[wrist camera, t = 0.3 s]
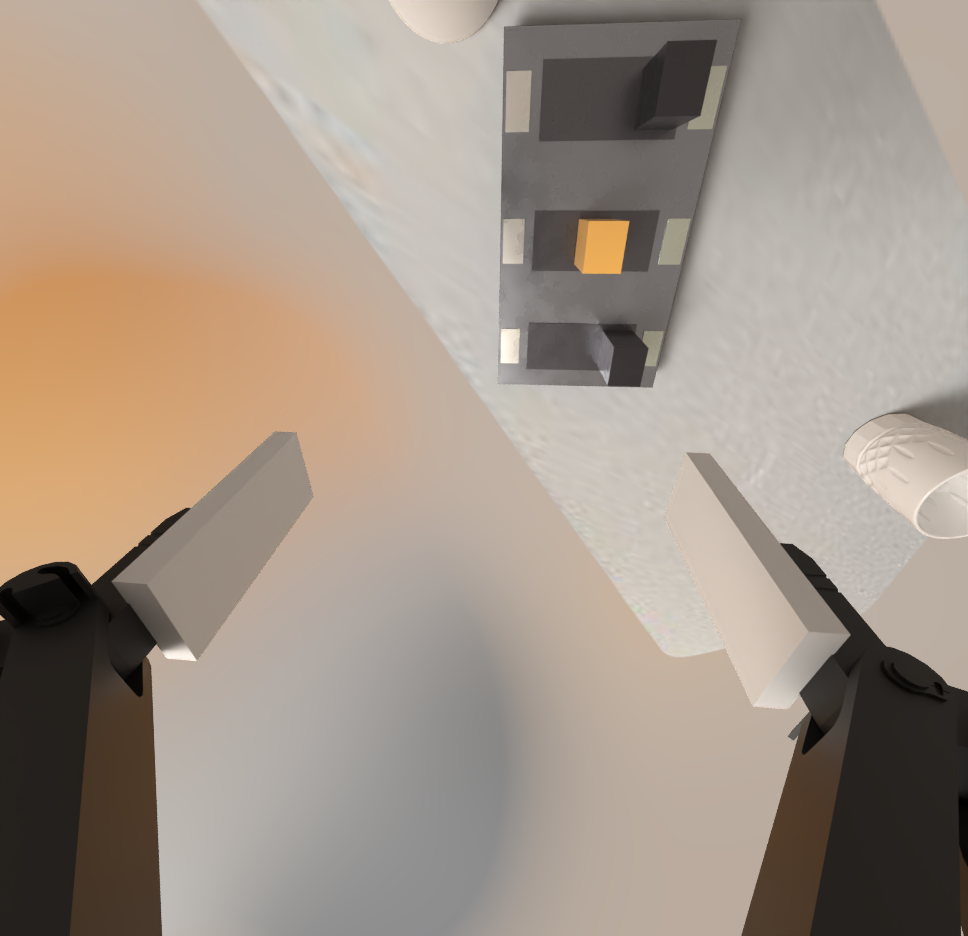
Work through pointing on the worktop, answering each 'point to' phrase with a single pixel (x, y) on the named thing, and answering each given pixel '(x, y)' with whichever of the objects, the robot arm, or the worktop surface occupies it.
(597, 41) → the panel
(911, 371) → the worktop surface
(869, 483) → the white cup
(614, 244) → the toggle
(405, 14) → the mug
